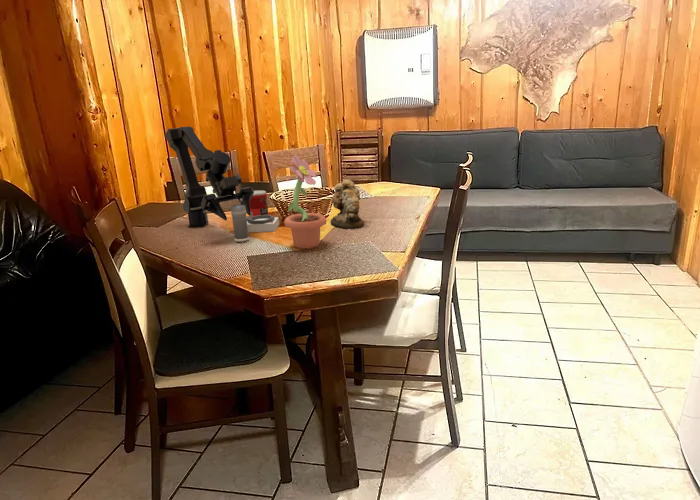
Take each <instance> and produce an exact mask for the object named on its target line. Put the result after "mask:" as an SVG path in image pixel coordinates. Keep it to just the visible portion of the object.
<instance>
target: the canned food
mask: <svg viewBox="0 0 700 500" xmlns="http://www.w3.org/2000/svg"><path fill="white" fill-rule="evenodd" d="M253 191H254V193H253V196H252V198H251V200H250V201H249V206H250V213H251V214H250V215H248V216H250V217H253V216H257V215H269V206H268V194H267V191H266V190H253Z"/></svg>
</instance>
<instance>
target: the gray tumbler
mask: <svg viewBox="0 0 700 500" xmlns="http://www.w3.org/2000/svg"><path fill="white" fill-rule="evenodd" d="M230 213H231V220H232V225H233V234H234V235H233V237H234V242H235V243H236V242H237V244H242V242H244V243H247V241H248V242H249V241H250V235H249V232H248V227H247V218H246V216H247V213H246V209H245V205H240V204H236V205H235V204H234V205H231V206H230Z"/></svg>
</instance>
